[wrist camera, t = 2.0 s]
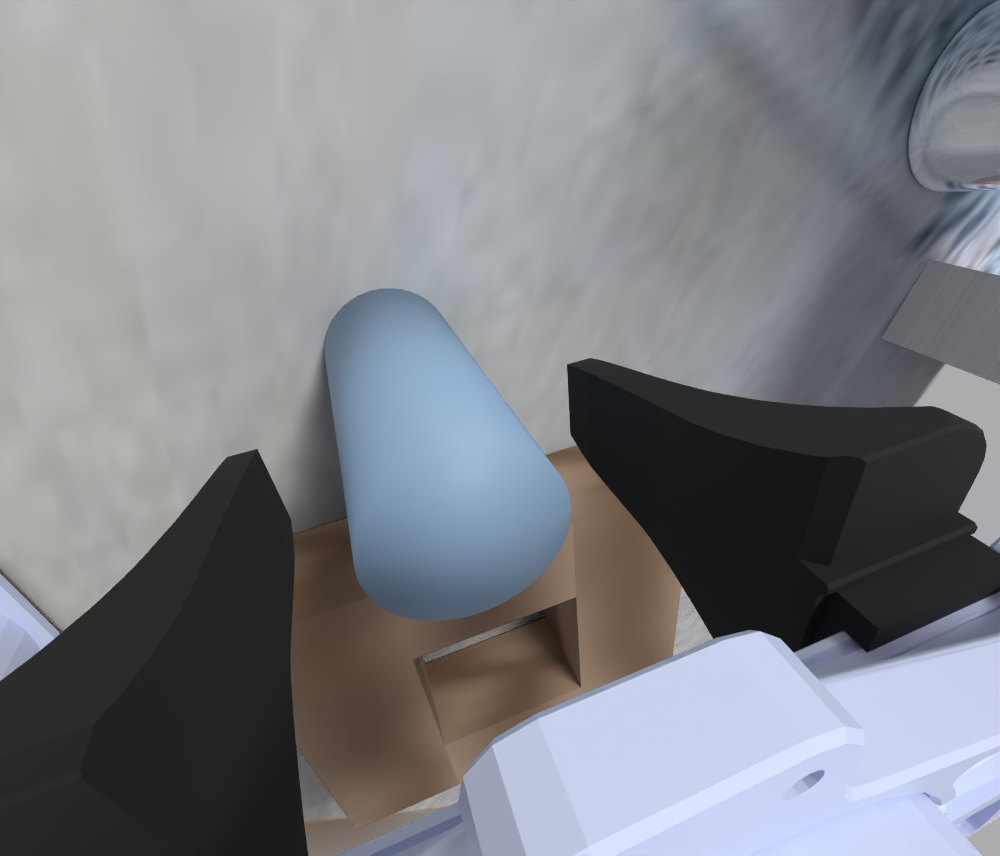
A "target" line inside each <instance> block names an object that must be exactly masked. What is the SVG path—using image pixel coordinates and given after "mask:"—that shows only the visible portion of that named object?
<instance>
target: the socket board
mask: <svg viewBox="0 0 1000 856" xmlns="http://www.w3.org/2000/svg"><path fill="white" fill-rule="evenodd" d="M546 457H547V458H548V459H549V461H550V462H551V463H552V465H553V466H554V468H555V469H556V470H557V472H558V473H559V474H560V476H561V477H562V479H563V480H564V482H565V484H566V486H567V489H568V492H569V495H570V500H571V521H570V526H569V530H568V533H567V536H566V539H565V541H564V543H563V545H562V547H561V549H560V551H559V553H558V554H557V556H556V557H555V559H554V560H553V562H552V563H551V564H550V565H549V567H548V568H547V569H546V570H545V571H544V572H543V573H542V574H541V576H540V577H539V578H537V579H536V580H535V581H534V582H533V583H532V584H531V585H530V586H528V587H527V588H526V589H524V590H523V591H522V592H520V593H519V594H517V595H516V596H514V597H513V598H511V599H509V600H508V601H506V602H504V603H502V604H500V605H498V606H496V607H494V608H491V609H489V610H487V611H484V612H481V613H478V614H475V615H472V616H468V617H463V618H459V619H452V620H444V621H422V620H415V619H409V618H405V617H402V616H398V615H396V614H394V613H391V612H389V611H387V610H385V609H384V608H382V607H380V606H379V605H377V604H376V603H375V602H374V601H373V600H372V599H370V598H369V596H368V595H367V594H366V593H365V591H364V590H363V589H362V587H361V585H360V583H359V581H358V579H357V576H356V573H355V569H354V562H353V555H352V548H351V541H350V534H349V526H348V519H347V518H345V519H341V520H338V521H335V522H332V523H329V524H325V525H322V526H319V527H316V528H313V529H310V530H306V531H303V532H300V533H297V534H294V535H293V543H294V554H295V570H294V593H293V612H292V632H291V685H292V700H293V715H294V727H295V739H296V746H297V748H298V749H299V750H300V752H301V753H302V755H303V756H304V757H305V759H306V760H307V762H308V763H309V764H310V766H311V767H312V769H313V770H314V771H315V773H316V774H317V776H318V777H319V778H320V780H321V781H322V783H323V784H324V785H325V787H326V788H327V790H328V791H329V792H330V794H331V795H332V797H333V798H334V799H335V801H336V802H337V803H338V805H339V806H340V808H341V809H342V810H343V812H344V813H345V815H346V816H347V817H348V819H349V820H350V822H351V823H352V824H353V825H354V827H355V829H356V830H358V829H360V828H362V827H364V826H367V825H369V824H371V823H373V822H376V821H378V820H380V819H382V818H385V817H387V816H389V815H391V814H394V813H396V812H398V811H400V810H403V809H405V808H407V807H409V806H412V805H414V804H416V803H418V802H421V801H423V800H425V799H427V798H430V797H432V796H434V795H436V794H439V793H441V792H443V791H445V790H448V789H450V788H452V787H454V786H457V785H459V784H461V783H462V779H463V776H464V774H465V772H466V770H467V768H468V766H469V765H470V764H471V763H472V762H473V761H474V760H475V759H476V757H477V756H478V755H479V754H480V753H481V752H482V751H483V750H484V749H485V748H486V747H487V746H488V745H489V743H490V742H491V741H492V740H493V739H494V738H495V737H497V736H499V735H500V734H502V733H504V732H506V731H507V730H509V729H511V728H512V727H514V726H516V725H518V724H519V723H521V722H523V721H524V720H526V719H528V718H530V717H531V716H533V715H535V714H537V713H540V712H542V711H544V710H547V709H549V708H551V707H554V706H556V705H559V704H561V703H563V702H566V701H568V700H570V699H573V698H575V697H578V696H580V695H582V694H585V693H587V692H589V691H592V690H594V689H596V688H599V687H601V686H604V685H606V684H608V683H611V682H613V681H615V680H618V679H620V678H623V677H625V676H627V675H630V674H632V673H634V672H637V671H639V670H642V669H644V668H646V667H649V666H651V665H653V664H656V663H658V662H661V661H663V660H665V659H668V658H670V657H672V656H673V648H674V640H675V632H676V624H677V615H678V607H679V599H680V591H681V584H680V583H679V581H678V579H677V578H676V576H675V575H674V573H673V571H672V570H671V568H670V567H669V565H668V564H667V562H666V561H665V559H664V558H663V556H662V555H661V553H660V552H659V550H658V549H657V548H656V546H655V545H654V543H653V542H652V540H651V539H650V537H649V536H648V535H647V534H646V532H645V531H644V530H643V528H642V527H641V526H640V525H639V523H638V522H637V521H636V520H635V519H634V517H633V516H632V515H631V514H630V513H629V512H628V510H627V509H626V508H625V507H624V506H623V504H622V503H621V502H620V501H619V500H618V499H617V497H616V496H615V495H614V494H613V493H612V491H611V490H610V489H609V488H608V487H607V486H606V484H605V483H604V482H603V481H602V480H601V478H600V477H599V476H598V475H597V473H596V472H595V471H594V470H593V469H592V467H591V466H590V465H589V463H588V462H587V460H586V459H585V457H584V456H583V454H582V452H581V451H580V449H579V447H578V446H574V447H571V448H568V449H564V450H561V451H558V452H555V453H552V454H549V455H546ZM544 609H545V615H546V617H544V618H542V619H539V620H537V621H534V622H531V623H529V624H526V625H524V626H521V627H519V628H516V629H513V630H511V631H508V632H506V633H503V634H500V635H498V636H495V637H493V638H490V639H487V640H485V641H482V642H480V643H477V644H475V645H472V646H469V647H467V648H464V649H462V650H459V651H456V652H454V653H451V654H449V655H446V656H443V657H441V658H438V659H436V660H433V661H431V662H428V663H425V662H424V659H423V657H422V656H423V655H426V654H429V653H431V652H434V651H436V650H439V649H442V648H444V647H447V646H450V645H452V644H455V643H457V642H460V641H463V640H465V639H468V638H470V637H473V636H476V635H478V634H481V633H483V632H486V631H489V630H491V629H494V628H497V627H499V626H502V625H504V624H507V623H510V622H512V621H515V620H517V619H520V618H523V617H525V616H528V615H531V614H533V613H536V612H538V611H541V610H544Z"/></svg>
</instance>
